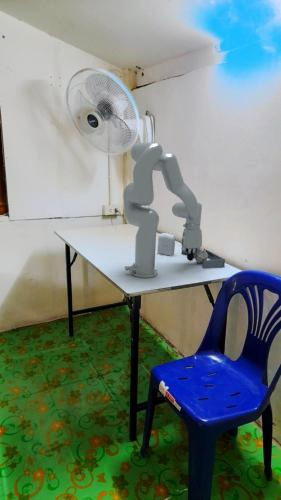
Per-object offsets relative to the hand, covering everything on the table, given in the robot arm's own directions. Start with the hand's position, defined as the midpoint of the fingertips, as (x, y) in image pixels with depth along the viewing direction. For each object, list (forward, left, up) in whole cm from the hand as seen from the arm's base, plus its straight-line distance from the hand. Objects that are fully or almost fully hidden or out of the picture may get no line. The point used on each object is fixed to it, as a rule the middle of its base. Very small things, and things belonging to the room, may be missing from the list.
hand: (189, 260), depth 174 cm
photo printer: (-6, +19, -2) cm, 20 cm away
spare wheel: (+7, +17, -2) cm, 19 cm away
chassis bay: (+9, 0, -2) cm, 9 cm away
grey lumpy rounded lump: (+6, -1, -2) cm, 6 cm away
